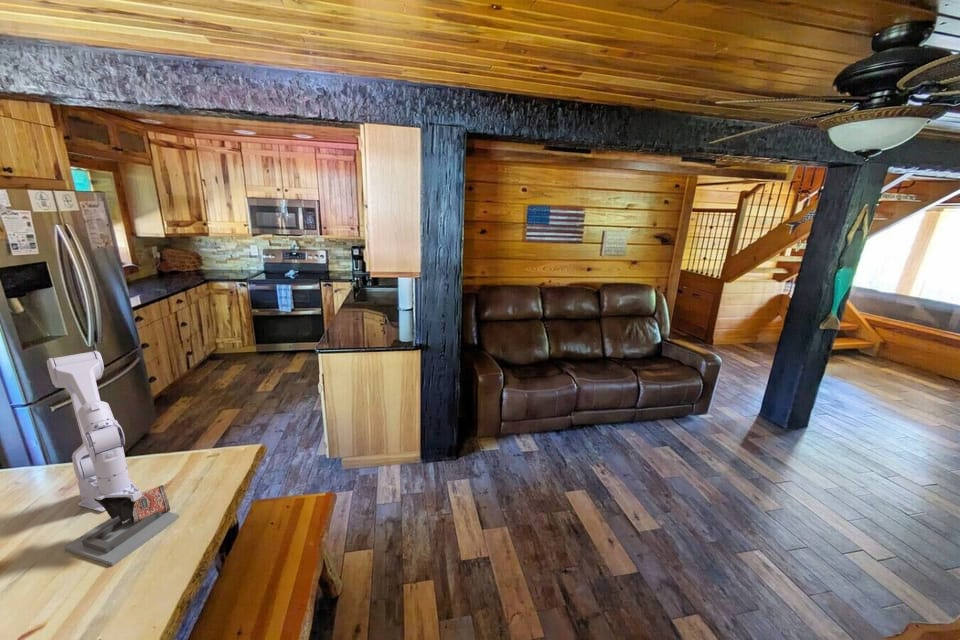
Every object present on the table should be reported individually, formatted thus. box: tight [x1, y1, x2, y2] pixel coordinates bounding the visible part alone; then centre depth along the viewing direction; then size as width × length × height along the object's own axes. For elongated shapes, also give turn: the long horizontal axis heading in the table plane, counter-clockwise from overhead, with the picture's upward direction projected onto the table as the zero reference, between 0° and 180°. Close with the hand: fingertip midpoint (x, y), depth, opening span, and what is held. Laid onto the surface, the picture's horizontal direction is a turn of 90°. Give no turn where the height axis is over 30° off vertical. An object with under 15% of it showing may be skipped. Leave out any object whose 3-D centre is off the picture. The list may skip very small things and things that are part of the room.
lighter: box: [118, 484, 171, 525], centre depth 104 cm, size 8×3×10 cm
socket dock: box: [63, 511, 180, 567], centre depth 99 cm, size 16×16×2 cm
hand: (122, 517), depth 98 cm, fingers open, 3 cm apart
